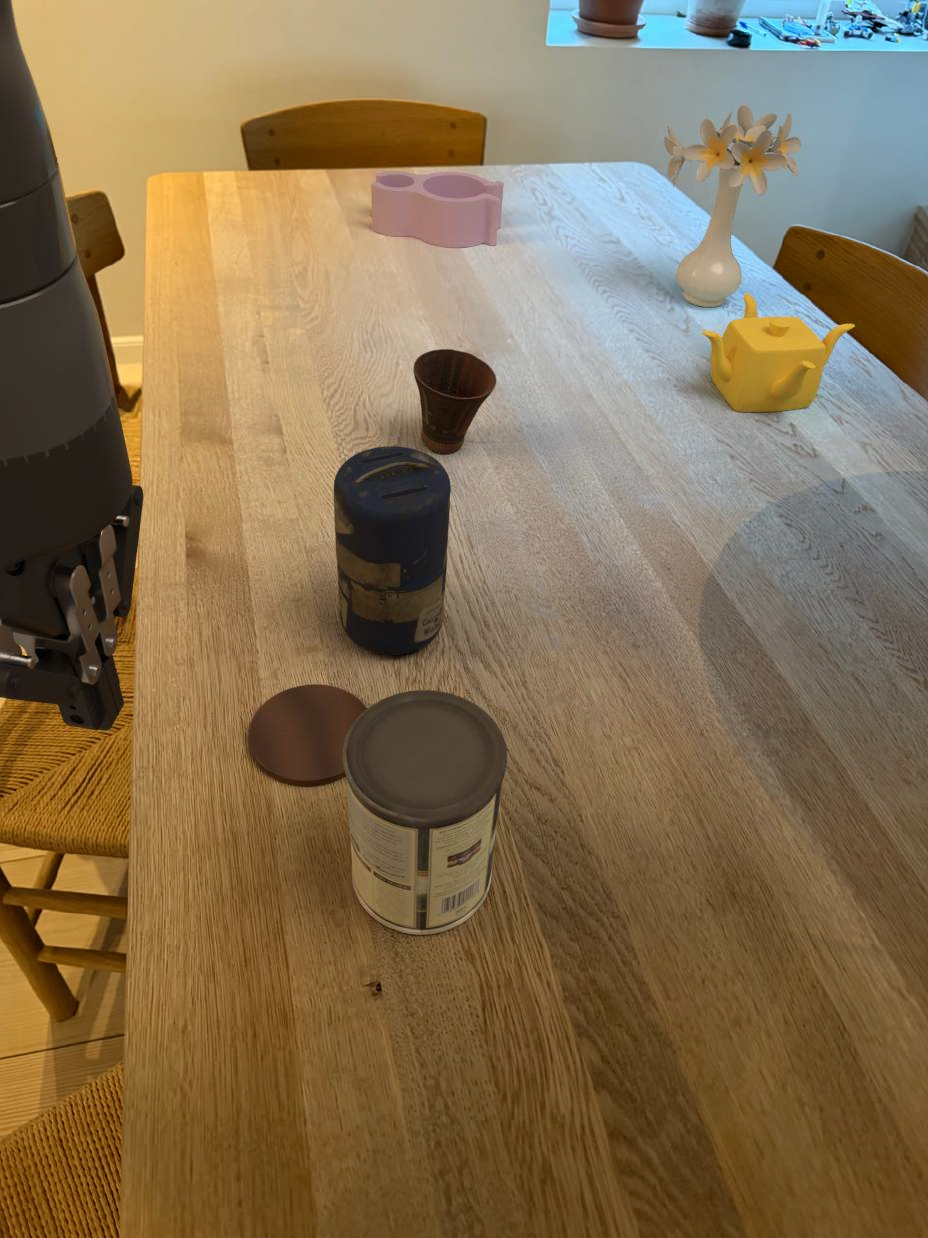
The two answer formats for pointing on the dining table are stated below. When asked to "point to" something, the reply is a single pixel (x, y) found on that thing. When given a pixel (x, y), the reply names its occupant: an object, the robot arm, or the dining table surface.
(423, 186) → the pink cup holder
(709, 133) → the flower vase
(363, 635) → the canister
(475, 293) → the dining table surface
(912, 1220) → the dining table surface
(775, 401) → the teapot
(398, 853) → the coffee can
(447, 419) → the cup
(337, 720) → the dark brown wooden coaster
